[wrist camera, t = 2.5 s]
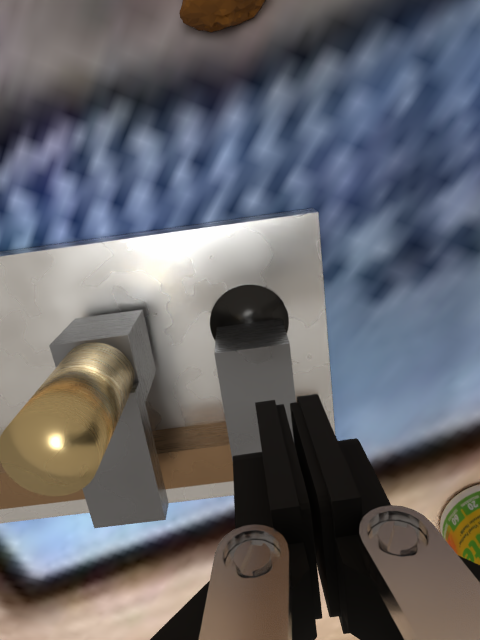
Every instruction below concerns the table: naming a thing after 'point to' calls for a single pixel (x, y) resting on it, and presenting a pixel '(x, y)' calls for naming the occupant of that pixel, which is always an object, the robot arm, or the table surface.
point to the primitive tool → (218, 13)
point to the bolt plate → (177, 337)
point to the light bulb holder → (93, 423)
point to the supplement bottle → (463, 524)
